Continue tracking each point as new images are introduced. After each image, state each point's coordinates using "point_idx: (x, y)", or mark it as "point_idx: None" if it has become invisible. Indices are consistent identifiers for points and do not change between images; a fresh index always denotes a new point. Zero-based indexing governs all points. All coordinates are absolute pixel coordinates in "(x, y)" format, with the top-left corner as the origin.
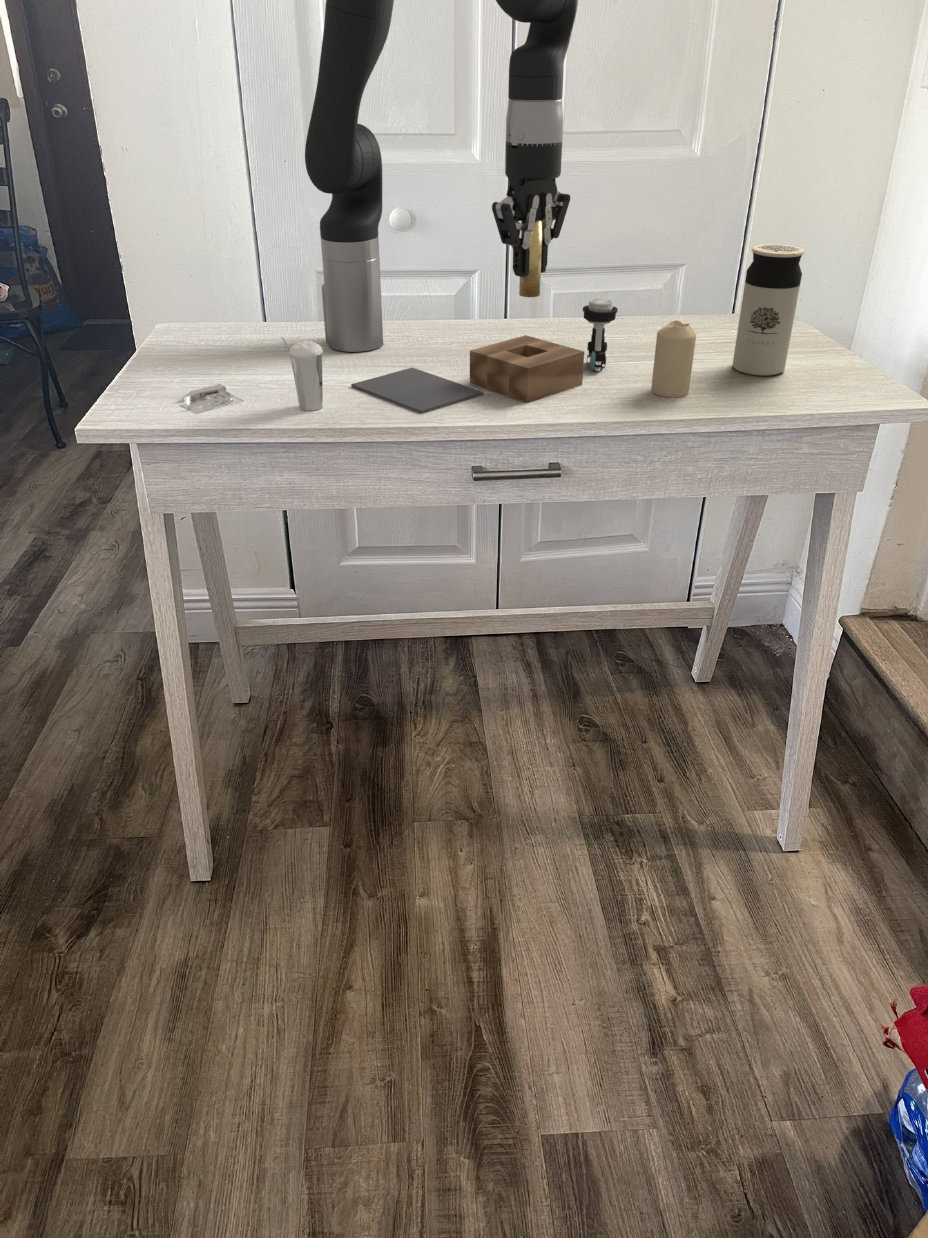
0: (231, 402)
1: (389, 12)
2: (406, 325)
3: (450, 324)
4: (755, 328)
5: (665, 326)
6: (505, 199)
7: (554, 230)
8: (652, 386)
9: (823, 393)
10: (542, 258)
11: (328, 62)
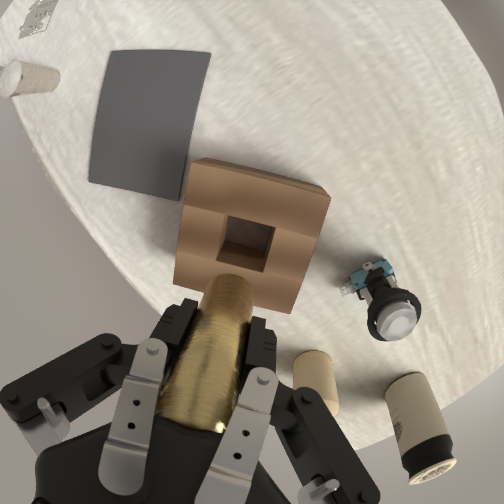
0: (39, 29)
1: None
2: None
3: (436, 11)
4: (395, 422)
5: None
6: (30, 442)
7: (277, 433)
8: (301, 357)
9: (355, 426)
10: None
11: None
